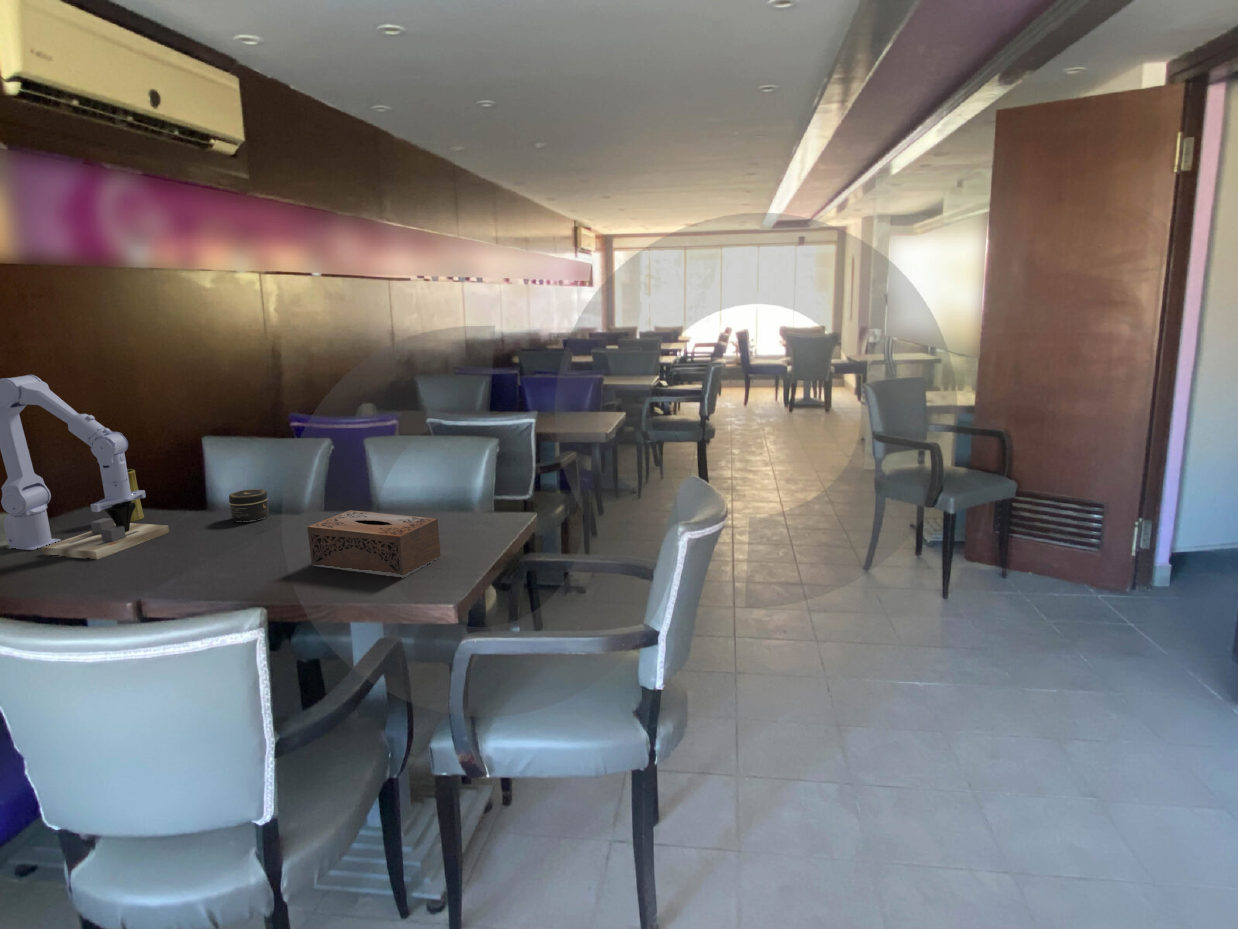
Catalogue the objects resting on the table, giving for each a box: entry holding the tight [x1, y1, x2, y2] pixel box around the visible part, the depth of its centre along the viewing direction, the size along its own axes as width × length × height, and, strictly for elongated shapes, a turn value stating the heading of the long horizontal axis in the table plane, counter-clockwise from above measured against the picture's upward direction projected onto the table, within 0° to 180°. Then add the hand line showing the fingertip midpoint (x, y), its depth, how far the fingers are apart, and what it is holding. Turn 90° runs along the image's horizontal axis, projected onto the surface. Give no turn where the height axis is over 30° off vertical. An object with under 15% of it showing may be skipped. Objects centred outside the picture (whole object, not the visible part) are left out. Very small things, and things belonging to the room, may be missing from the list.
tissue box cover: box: [307, 509, 442, 575], centre depth 184 cm, size 26×14×10 cm, turn 69°
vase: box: [127, 468, 145, 523], centre depth 225 cm, size 6×6×14 cm
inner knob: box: [90, 517, 115, 534], centre depth 207 cm, size 3×4×3 cm
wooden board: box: [41, 522, 170, 560], centre depth 204 cm, size 17×22×2 cm
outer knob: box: [101, 525, 126, 542], centre depth 200 cm, size 3×4×3 cm
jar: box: [228, 488, 270, 522], centre depth 223 cm, size 10×10×8 cm
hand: (124, 531), depth 203 cm, fingers closed
